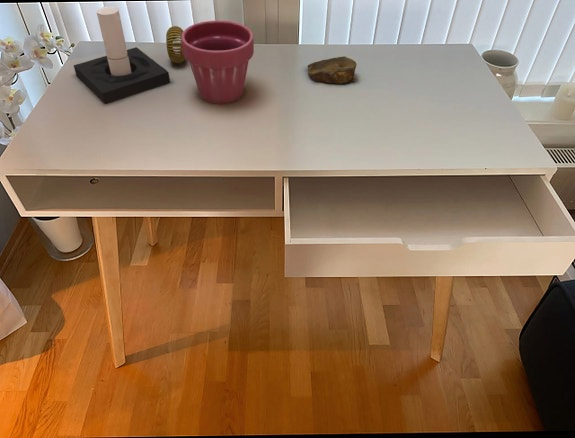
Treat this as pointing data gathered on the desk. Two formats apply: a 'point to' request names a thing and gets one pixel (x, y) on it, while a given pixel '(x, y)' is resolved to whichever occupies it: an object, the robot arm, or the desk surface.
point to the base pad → (119, 87)
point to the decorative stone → (333, 70)
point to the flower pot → (218, 58)
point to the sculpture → (174, 44)
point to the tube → (114, 40)
